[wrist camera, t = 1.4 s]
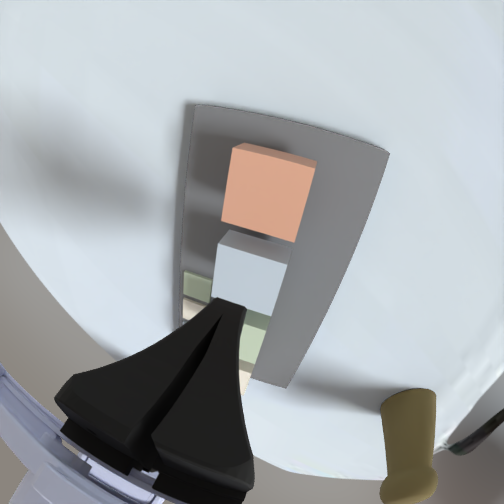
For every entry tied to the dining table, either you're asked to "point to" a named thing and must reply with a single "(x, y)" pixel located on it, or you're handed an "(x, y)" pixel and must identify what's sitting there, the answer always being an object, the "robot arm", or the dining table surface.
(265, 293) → the key blue
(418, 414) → the cork
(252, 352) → the key sage
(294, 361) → the keypad base
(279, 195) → the key terracotta
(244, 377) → the key cream
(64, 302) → the dining table surface
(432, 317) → the dining table surface
